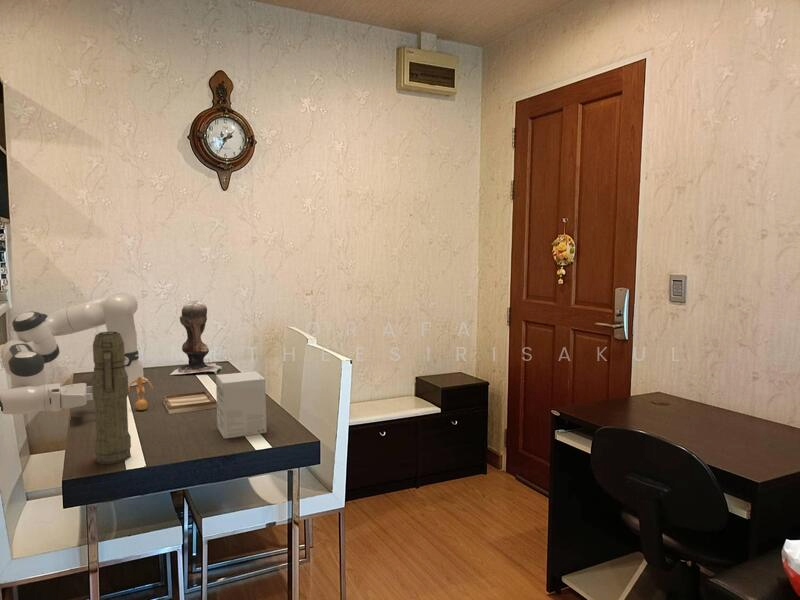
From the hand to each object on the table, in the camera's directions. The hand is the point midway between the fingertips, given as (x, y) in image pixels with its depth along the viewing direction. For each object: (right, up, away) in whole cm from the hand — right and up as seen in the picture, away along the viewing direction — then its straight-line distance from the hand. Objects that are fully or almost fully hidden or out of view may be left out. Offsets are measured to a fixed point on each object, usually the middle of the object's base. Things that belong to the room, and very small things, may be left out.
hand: (101, 391), depth 198 cm
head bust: (+7, -2, +76) cm, 76 cm away
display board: (+26, -7, +13) cm, 30 cm away
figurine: (+11, -8, +7) cm, 15 cm away
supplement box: (+53, -10, -16) cm, 57 cm away
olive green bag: (+25, -12, -41) cm, 49 cm away
